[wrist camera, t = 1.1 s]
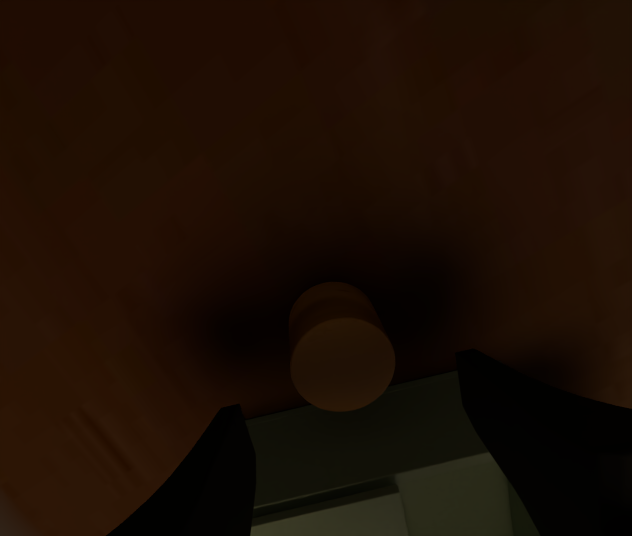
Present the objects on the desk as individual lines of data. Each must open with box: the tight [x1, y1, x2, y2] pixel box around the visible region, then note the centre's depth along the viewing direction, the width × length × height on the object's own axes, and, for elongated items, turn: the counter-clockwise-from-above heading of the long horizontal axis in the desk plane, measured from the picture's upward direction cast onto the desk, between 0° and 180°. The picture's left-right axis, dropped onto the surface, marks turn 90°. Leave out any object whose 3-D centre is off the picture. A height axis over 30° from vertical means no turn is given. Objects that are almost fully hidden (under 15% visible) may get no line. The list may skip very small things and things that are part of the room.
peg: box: [289, 282, 395, 412], centre depth 19 cm, size 4×4×4 cm
